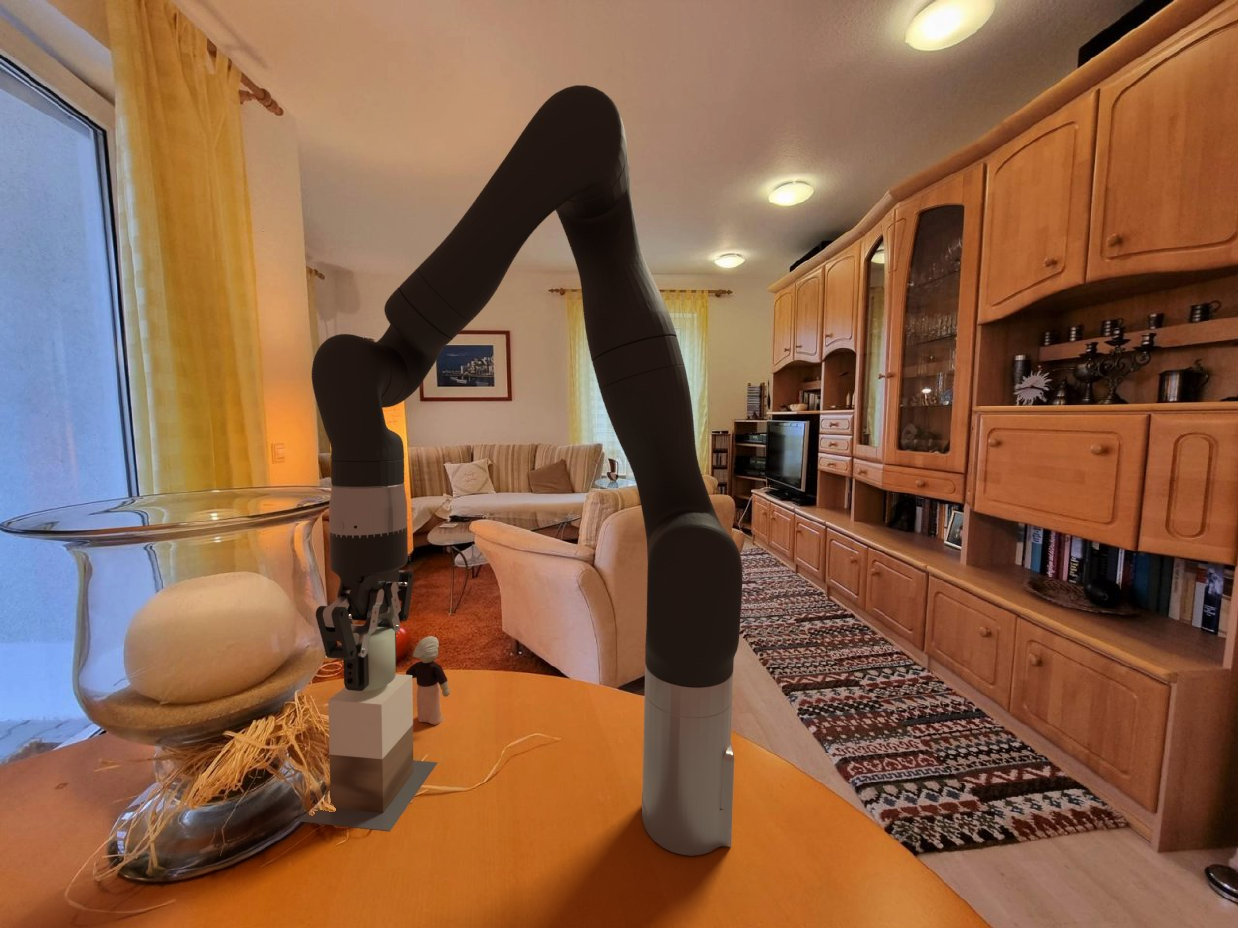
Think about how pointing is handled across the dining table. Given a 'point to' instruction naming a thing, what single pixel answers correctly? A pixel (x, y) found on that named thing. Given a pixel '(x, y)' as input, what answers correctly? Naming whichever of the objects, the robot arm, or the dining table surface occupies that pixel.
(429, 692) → the grandmother figurine
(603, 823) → the dining table surface
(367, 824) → the coaster
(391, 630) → the drum
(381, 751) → the tower top
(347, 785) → the tower base
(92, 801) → the dining table surface
